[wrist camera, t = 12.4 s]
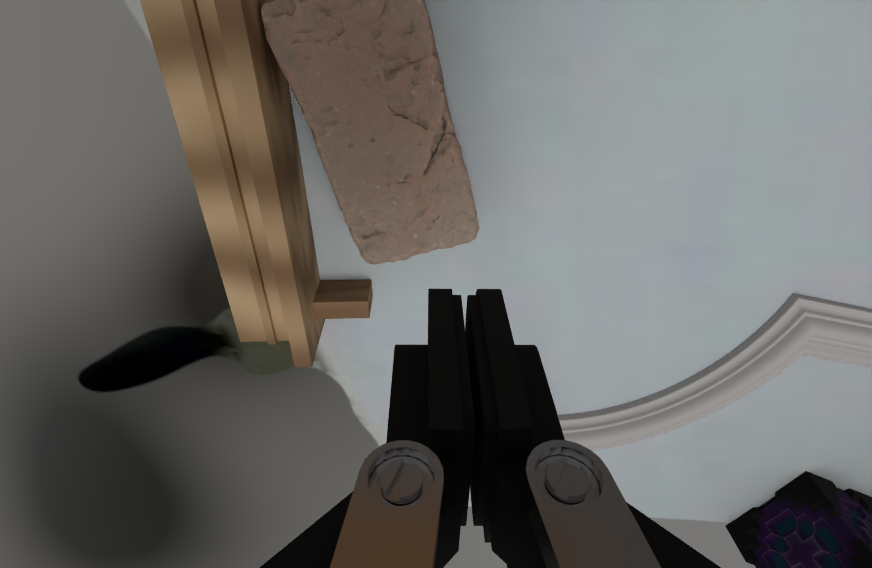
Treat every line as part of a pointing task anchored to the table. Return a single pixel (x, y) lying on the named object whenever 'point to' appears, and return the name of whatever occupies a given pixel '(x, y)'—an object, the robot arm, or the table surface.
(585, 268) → the table surface
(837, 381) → the table surface
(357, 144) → the brick
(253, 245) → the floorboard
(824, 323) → the molding
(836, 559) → the energy cube
